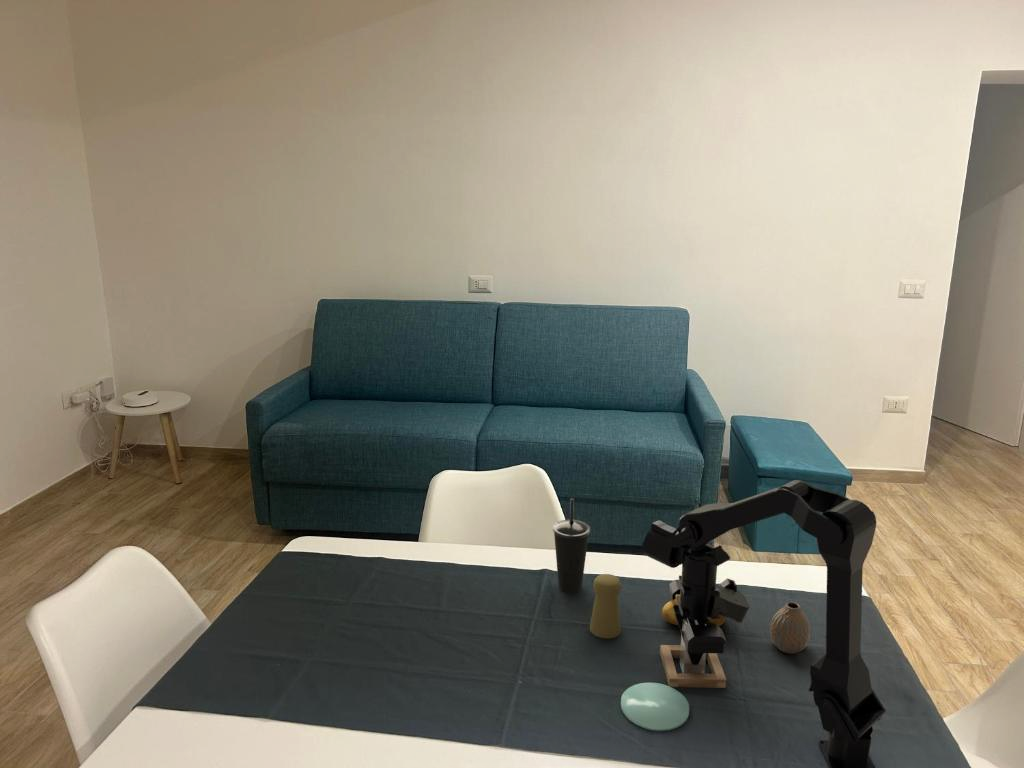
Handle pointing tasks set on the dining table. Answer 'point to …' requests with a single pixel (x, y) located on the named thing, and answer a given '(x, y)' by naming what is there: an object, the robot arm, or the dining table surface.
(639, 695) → the teal coaster
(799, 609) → the vase
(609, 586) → the wooden pepper shaker
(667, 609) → the bread roll
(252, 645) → the dining table surface
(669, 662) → the walnut collar
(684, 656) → the steel bar
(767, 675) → the dining table surface
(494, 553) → the dining table surface
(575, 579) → the drinking cup
